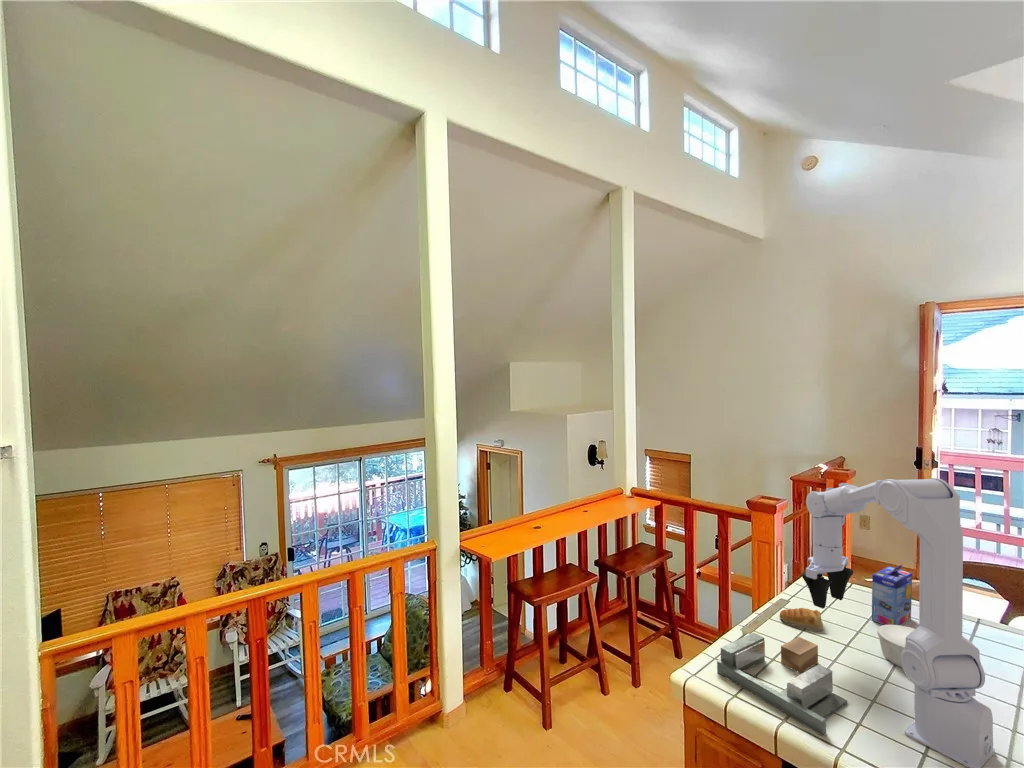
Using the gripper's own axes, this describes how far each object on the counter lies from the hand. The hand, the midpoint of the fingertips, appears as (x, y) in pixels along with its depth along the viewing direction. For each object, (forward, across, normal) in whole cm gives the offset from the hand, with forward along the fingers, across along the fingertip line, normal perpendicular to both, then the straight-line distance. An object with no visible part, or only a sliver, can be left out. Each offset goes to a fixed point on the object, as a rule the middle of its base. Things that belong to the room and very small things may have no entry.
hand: (828, 602), depth 109 cm
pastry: (+11, -6, -9) cm, 15 cm away
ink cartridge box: (+10, -26, +2) cm, 28 cm away
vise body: (+10, +23, +4) cm, 25 cm away
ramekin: (+11, -9, +12) cm, 18 cm away
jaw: (+9, +23, +8) cm, 26 cm away
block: (+10, +12, 0) cm, 16 cm away
